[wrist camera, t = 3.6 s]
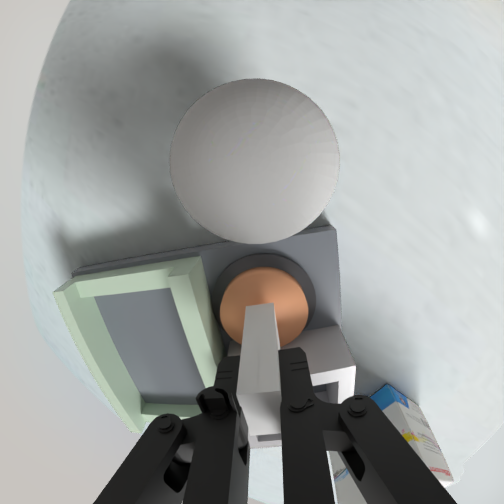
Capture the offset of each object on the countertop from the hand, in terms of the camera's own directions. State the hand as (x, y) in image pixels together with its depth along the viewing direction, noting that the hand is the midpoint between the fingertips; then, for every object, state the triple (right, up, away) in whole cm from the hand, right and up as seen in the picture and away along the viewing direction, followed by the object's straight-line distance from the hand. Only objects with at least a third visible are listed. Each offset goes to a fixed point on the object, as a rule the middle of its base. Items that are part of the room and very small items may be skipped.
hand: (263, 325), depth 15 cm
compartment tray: (-4, -3, +5) cm, 7 cm away
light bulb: (0, +9, +1) cm, 10 cm away
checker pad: (0, +1, +2) cm, 2 cm away
